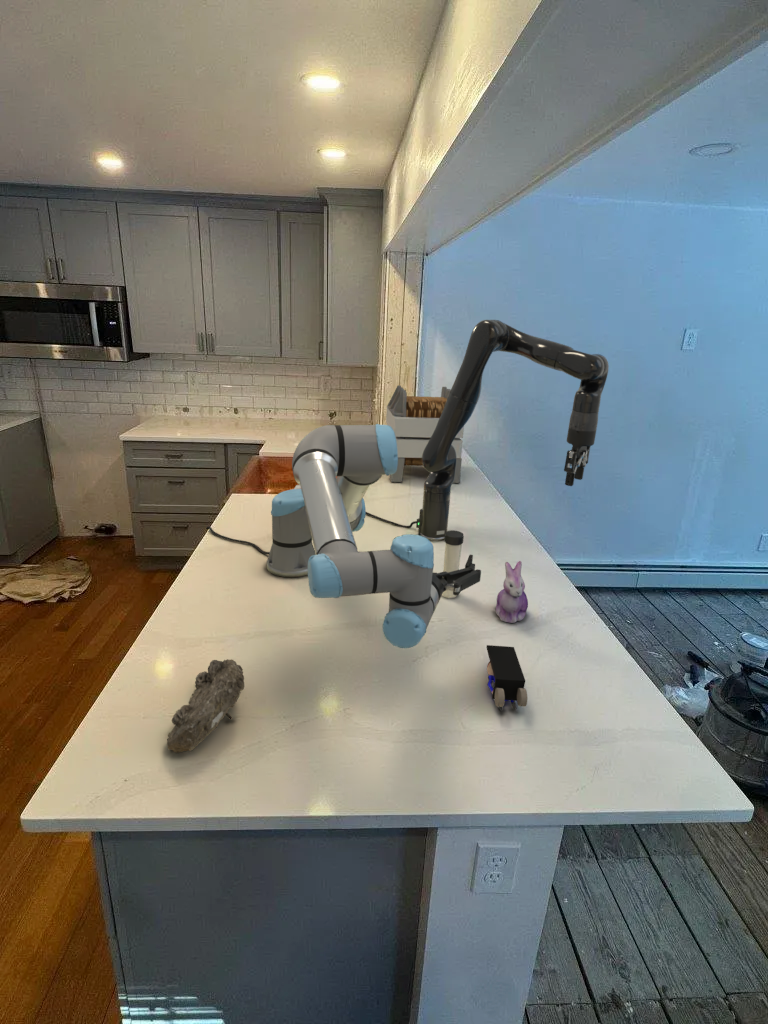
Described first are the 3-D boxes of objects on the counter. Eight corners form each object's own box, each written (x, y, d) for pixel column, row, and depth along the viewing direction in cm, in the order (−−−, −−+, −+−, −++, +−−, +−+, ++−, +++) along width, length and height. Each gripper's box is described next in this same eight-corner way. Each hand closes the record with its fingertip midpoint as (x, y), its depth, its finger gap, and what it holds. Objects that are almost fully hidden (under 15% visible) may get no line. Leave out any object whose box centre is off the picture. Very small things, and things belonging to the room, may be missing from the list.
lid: (466, 542, 154) (467, 534, 153) (455, 547, 150) (456, 538, 149) (451, 536, 157) (452, 528, 156) (440, 541, 153) (441, 533, 152)
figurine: (509, 627, 143) (516, 574, 138) (485, 609, 151) (491, 558, 146) (538, 620, 147) (546, 567, 142) (512, 602, 156) (519, 552, 151)
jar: (459, 594, 159) (465, 535, 153) (450, 599, 156) (456, 539, 150) (447, 589, 162) (452, 531, 156) (438, 594, 159) (443, 535, 153)
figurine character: (526, 722, 112) (510, 670, 126) (532, 694, 109) (515, 643, 122) (492, 722, 112) (480, 669, 125) (498, 693, 109) (484, 642, 122)
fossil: (192, 660, 117) (244, 628, 112) (224, 691, 120) (276, 661, 115) (142, 746, 98) (202, 712, 93) (182, 779, 101) (242, 748, 96)
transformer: (382, 463, 289) (386, 382, 275) (445, 464, 293) (451, 384, 279) (390, 482, 257) (394, 392, 243) (460, 483, 261) (468, 394, 247)
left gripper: (361, 601, 118) (390, 561, 137) (481, 623, 112) (493, 578, 131) (362, 568, 116) (391, 533, 135) (485, 588, 109) (497, 548, 128)
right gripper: (577, 422, 167) (568, 474, 173) (561, 428, 156) (552, 484, 162) (603, 425, 163) (593, 479, 169) (588, 433, 152) (578, 490, 158)
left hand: (441, 555), depth 133 cm, fingers open, 13 cm apart
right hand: (573, 482), depth 165 cm, fingers open, 8 cm apart
